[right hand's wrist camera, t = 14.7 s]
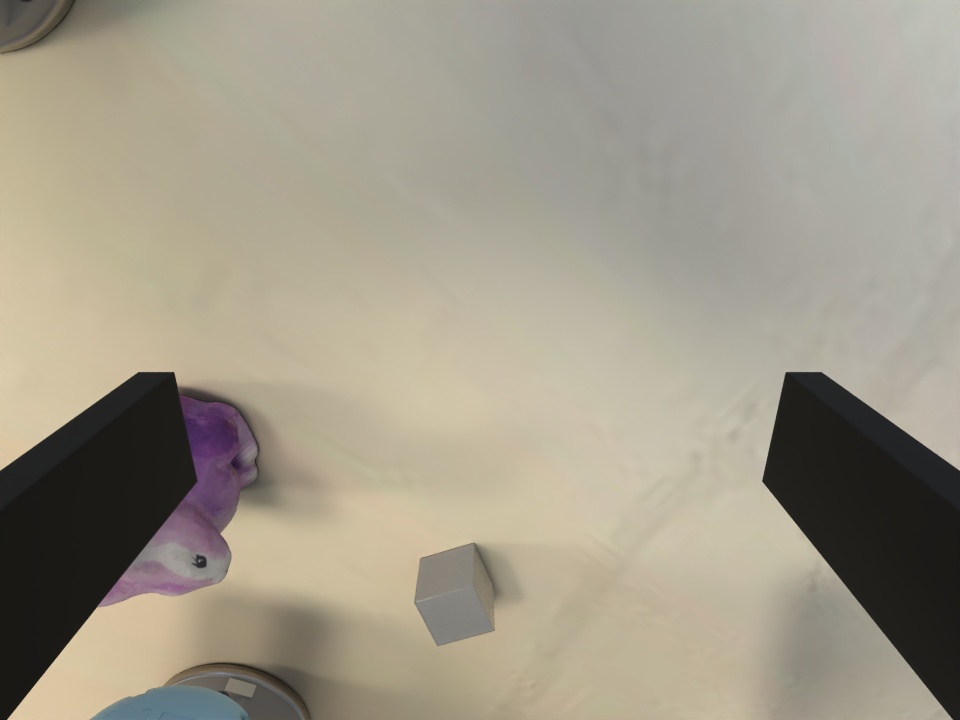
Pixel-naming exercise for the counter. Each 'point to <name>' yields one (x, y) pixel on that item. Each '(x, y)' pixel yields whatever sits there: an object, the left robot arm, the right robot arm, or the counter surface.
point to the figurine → (197, 509)
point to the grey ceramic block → (455, 595)
